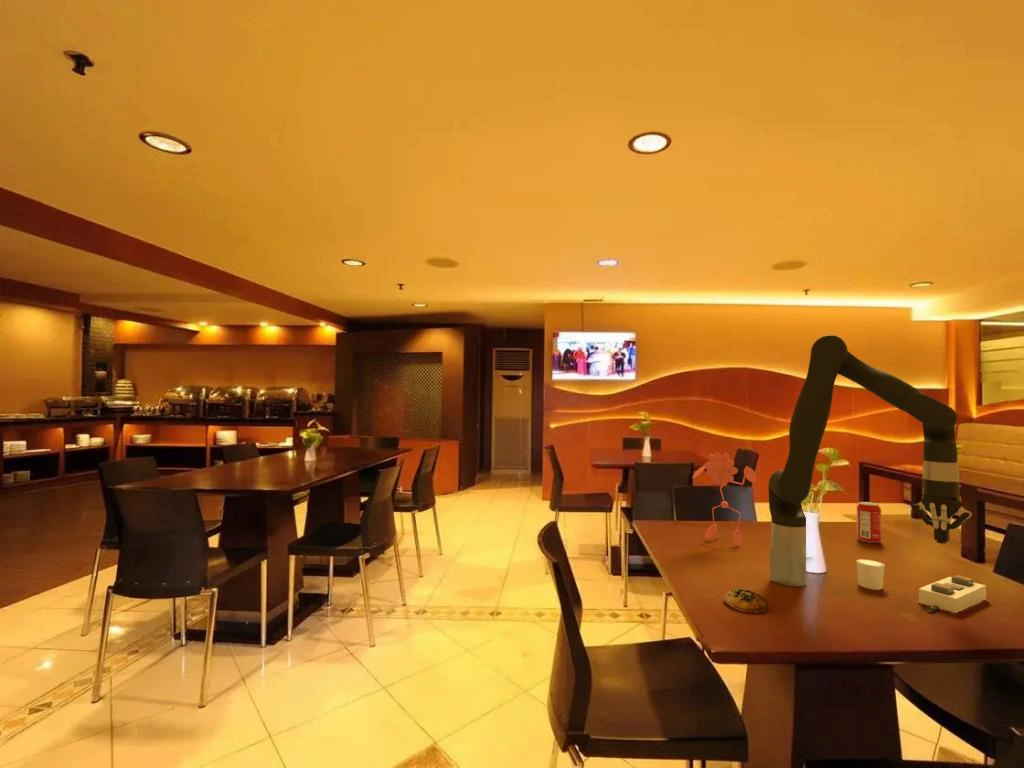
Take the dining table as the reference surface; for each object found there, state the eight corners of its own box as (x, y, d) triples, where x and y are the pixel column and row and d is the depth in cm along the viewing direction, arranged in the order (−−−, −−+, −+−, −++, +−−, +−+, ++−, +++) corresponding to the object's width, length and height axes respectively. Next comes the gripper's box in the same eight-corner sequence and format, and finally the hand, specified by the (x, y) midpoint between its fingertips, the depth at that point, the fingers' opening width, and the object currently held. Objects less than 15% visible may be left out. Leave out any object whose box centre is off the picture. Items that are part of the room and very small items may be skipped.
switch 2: (968, 589, 139) (967, 581, 139) (951, 585, 142) (951, 577, 142) (973, 587, 140) (973, 578, 141) (956, 583, 144) (956, 574, 144)
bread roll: (778, 608, 131) (776, 589, 131) (752, 623, 126) (749, 603, 126) (741, 596, 141) (738, 578, 141) (714, 609, 135) (712, 590, 135)
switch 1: (948, 598, 132) (948, 589, 132) (931, 593, 135) (931, 584, 135) (953, 596, 134) (953, 586, 134) (937, 591, 137) (937, 582, 137)
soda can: (859, 542, 196) (859, 504, 197) (854, 538, 203) (854, 500, 204) (884, 545, 193) (883, 506, 194) (878, 540, 200) (877, 502, 201)
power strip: (948, 618, 127) (948, 602, 127) (911, 606, 134) (911, 591, 134) (986, 600, 139) (985, 585, 140) (949, 590, 146) (949, 576, 146)
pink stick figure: (699, 533, 206) (698, 448, 206) (763, 548, 186) (763, 454, 187) (678, 540, 196) (677, 450, 197) (744, 557, 176) (743, 457, 177)
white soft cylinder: (878, 583, 151) (878, 560, 151) (889, 591, 145) (889, 567, 145) (852, 581, 153) (852, 557, 153) (861, 588, 146) (861, 564, 147)
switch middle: (958, 598, 135) (958, 589, 135) (941, 593, 138) (941, 584, 139) (963, 595, 137) (963, 586, 137) (947, 591, 140) (947, 582, 140)
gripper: (905, 475, 140) (906, 539, 139) (966, 482, 128) (968, 551, 128) (917, 474, 143) (918, 535, 143) (977, 480, 132) (979, 547, 131)
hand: (941, 543), depth 135 cm, fingers closed
